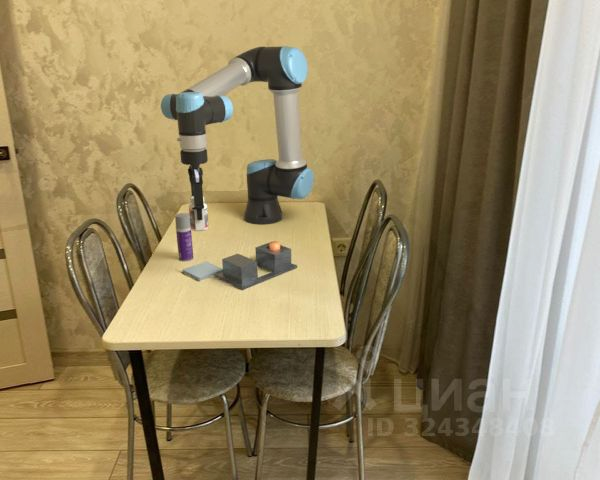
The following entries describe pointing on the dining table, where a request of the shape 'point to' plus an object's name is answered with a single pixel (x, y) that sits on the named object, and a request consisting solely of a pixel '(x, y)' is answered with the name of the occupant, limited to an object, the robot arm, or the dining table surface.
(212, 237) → the dining table surface
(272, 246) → the orange oval piece
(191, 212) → the pill bottle
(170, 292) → the dining table surface
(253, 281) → the housing
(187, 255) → the container
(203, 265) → the pad
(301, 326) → the dining table surface
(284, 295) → the dining table surface
